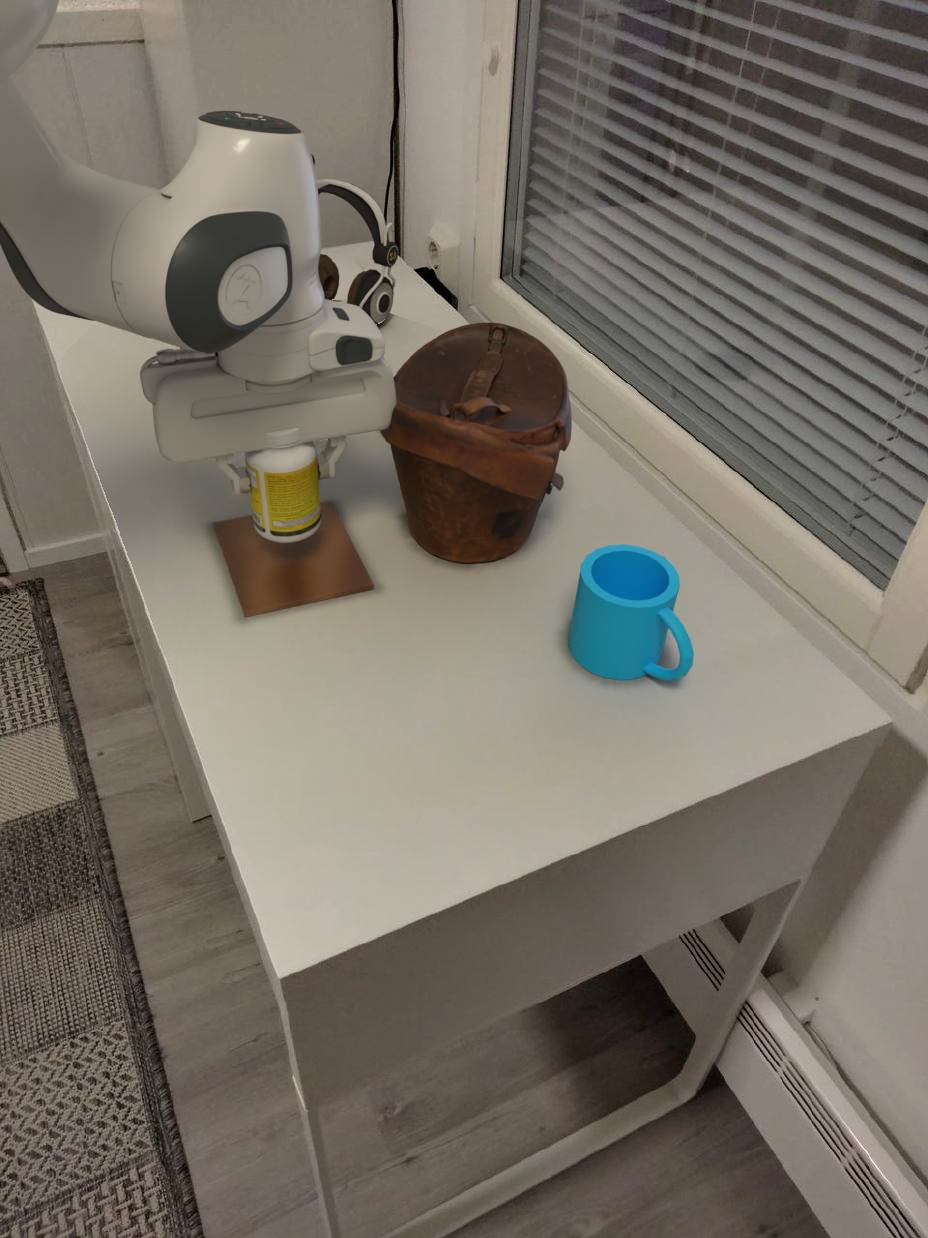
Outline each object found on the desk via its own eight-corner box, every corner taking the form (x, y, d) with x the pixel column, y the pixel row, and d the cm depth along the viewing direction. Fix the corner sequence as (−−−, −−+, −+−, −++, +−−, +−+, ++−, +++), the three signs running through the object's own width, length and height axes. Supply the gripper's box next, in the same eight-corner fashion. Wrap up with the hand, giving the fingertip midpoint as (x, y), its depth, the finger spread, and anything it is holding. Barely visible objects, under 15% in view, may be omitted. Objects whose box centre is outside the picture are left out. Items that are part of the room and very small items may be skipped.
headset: (274, 308, 130) (260, 153, 116) (309, 290, 135) (300, 139, 122) (376, 343, 124) (374, 182, 110) (408, 322, 129) (410, 166, 115)
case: (419, 608, 85) (423, 436, 73) (354, 488, 99) (349, 326, 87) (594, 570, 91) (625, 403, 79) (510, 461, 104) (525, 304, 92)
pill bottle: (334, 517, 88) (328, 412, 81) (298, 553, 84) (289, 446, 77) (278, 498, 90) (267, 394, 83) (240, 533, 86) (225, 426, 79)
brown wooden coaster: (244, 617, 83) (243, 612, 83) (213, 527, 93) (212, 522, 92) (373, 589, 87) (373, 584, 87) (331, 505, 96) (331, 500, 96)
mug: (549, 637, 83) (560, 565, 78) (615, 604, 87) (631, 533, 82) (645, 722, 76) (664, 650, 71) (713, 681, 80) (736, 610, 75)
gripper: (141, 372, 70) (171, 524, 79) (403, 337, 76) (402, 482, 85) (129, 335, 74) (159, 483, 83) (379, 305, 80) (380, 446, 89)
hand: (284, 482), depth 84 cm, fingers closed on pill bottle, 6 cm apart
